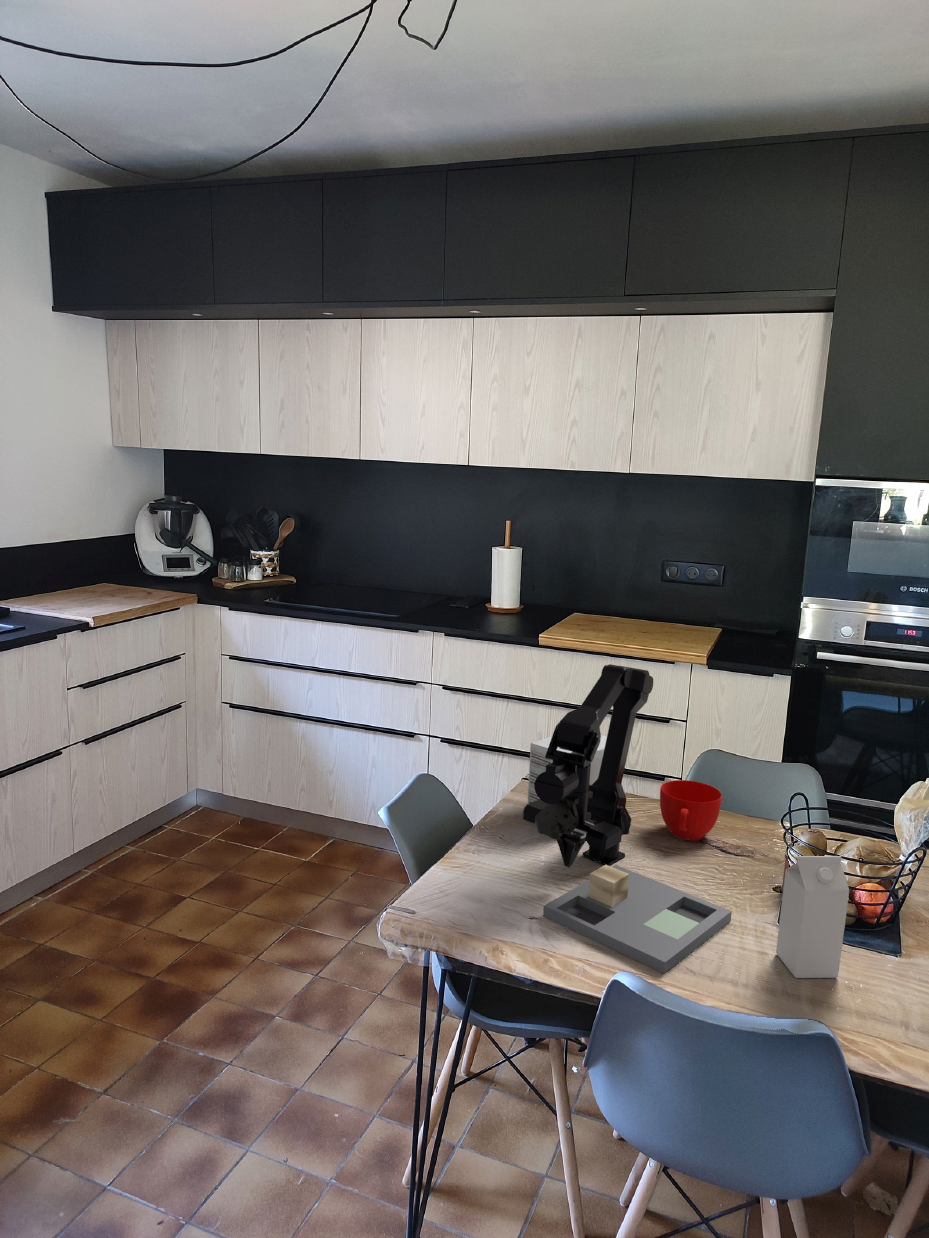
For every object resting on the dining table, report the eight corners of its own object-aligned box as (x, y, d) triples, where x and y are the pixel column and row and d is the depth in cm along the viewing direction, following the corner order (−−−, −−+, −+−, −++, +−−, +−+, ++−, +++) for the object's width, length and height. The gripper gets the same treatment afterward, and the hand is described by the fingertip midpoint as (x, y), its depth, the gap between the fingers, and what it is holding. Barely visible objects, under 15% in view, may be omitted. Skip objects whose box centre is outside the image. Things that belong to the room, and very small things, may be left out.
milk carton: (775, 953, 144) (787, 846, 141) (816, 953, 145) (830, 846, 141) (795, 979, 137) (808, 866, 134) (838, 978, 138) (852, 866, 135)
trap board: (615, 874, 170) (616, 864, 169) (730, 921, 154) (731, 911, 154) (543, 916, 153) (543, 905, 153) (664, 973, 137) (665, 962, 137)
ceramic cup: (648, 846, 183) (651, 801, 181) (662, 817, 198) (666, 776, 196) (711, 859, 178) (716, 813, 176) (721, 829, 193) (725, 786, 192)
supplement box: (570, 799, 207) (575, 726, 203) (617, 816, 198) (623, 740, 194) (524, 819, 194) (528, 741, 191) (572, 838, 185) (577, 757, 182)
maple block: (603, 887, 160) (605, 864, 159) (627, 897, 157) (629, 874, 156) (588, 896, 157) (590, 873, 156) (612, 906, 153) (613, 883, 152)
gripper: (505, 783, 160) (501, 862, 163) (590, 814, 147) (584, 899, 150) (543, 769, 168) (538, 845, 171) (626, 797, 156) (619, 878, 158)
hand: (568, 866), depth 162 cm, fingers closed
